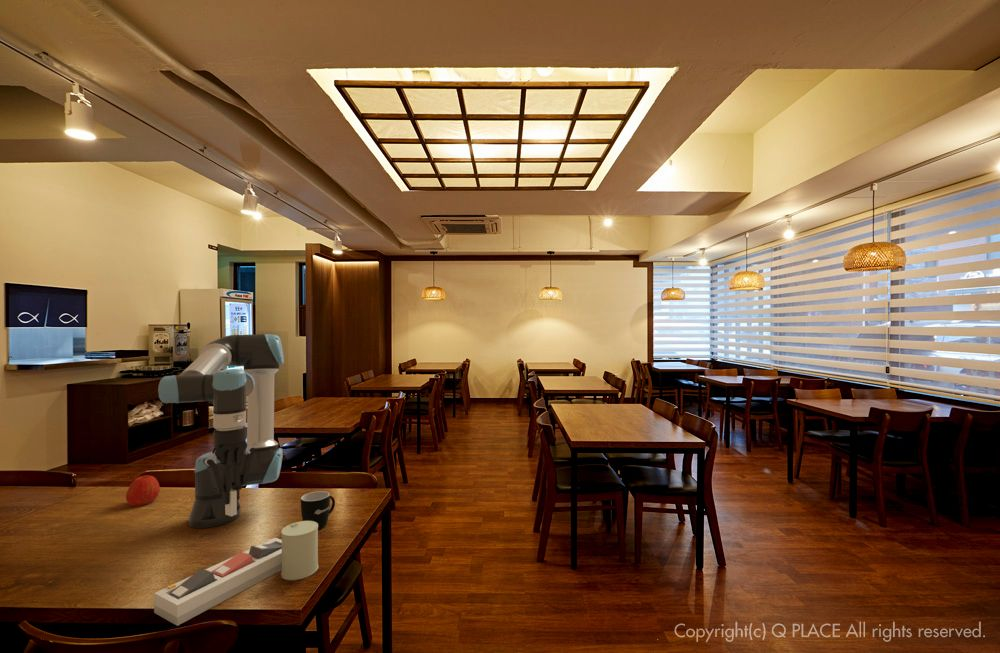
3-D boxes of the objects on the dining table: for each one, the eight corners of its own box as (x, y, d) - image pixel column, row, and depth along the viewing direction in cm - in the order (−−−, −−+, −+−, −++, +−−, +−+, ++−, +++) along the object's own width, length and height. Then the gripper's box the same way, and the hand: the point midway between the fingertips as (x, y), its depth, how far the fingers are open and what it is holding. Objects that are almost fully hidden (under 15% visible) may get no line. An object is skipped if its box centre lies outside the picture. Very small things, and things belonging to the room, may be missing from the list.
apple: (164, 501, 167) (164, 474, 167) (131, 510, 158) (131, 482, 158) (154, 496, 172) (154, 470, 172) (121, 504, 164) (121, 477, 164)
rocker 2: (259, 557, 114) (261, 549, 114) (248, 553, 116) (251, 545, 117) (284, 553, 120) (286, 545, 121) (273, 549, 122) (275, 542, 123)
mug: (312, 534, 137) (312, 503, 137) (295, 528, 141) (294, 497, 141) (343, 520, 147) (343, 490, 147) (325, 515, 152) (325, 486, 152)
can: (306, 558, 122) (306, 516, 123) (325, 568, 117) (325, 523, 117) (274, 573, 115) (274, 528, 115) (292, 584, 109) (292, 537, 110)
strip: (177, 625, 94) (177, 603, 94) (154, 612, 99) (154, 591, 99) (321, 548, 128) (321, 531, 128) (298, 541, 133) (298, 525, 133)
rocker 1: (181, 605, 97) (178, 598, 97) (171, 599, 100) (168, 593, 99) (215, 578, 104) (212, 572, 103) (204, 574, 106) (201, 567, 106)
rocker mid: (224, 582, 106) (222, 575, 105) (213, 578, 108) (211, 571, 108) (253, 561, 112) (251, 555, 112) (242, 557, 114) (241, 551, 114)
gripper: (212, 434, 108) (213, 527, 108) (262, 423, 119) (262, 507, 120) (196, 431, 111) (197, 521, 112) (245, 420, 123) (246, 502, 123)
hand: (231, 514), depth 116 cm, fingers closed
